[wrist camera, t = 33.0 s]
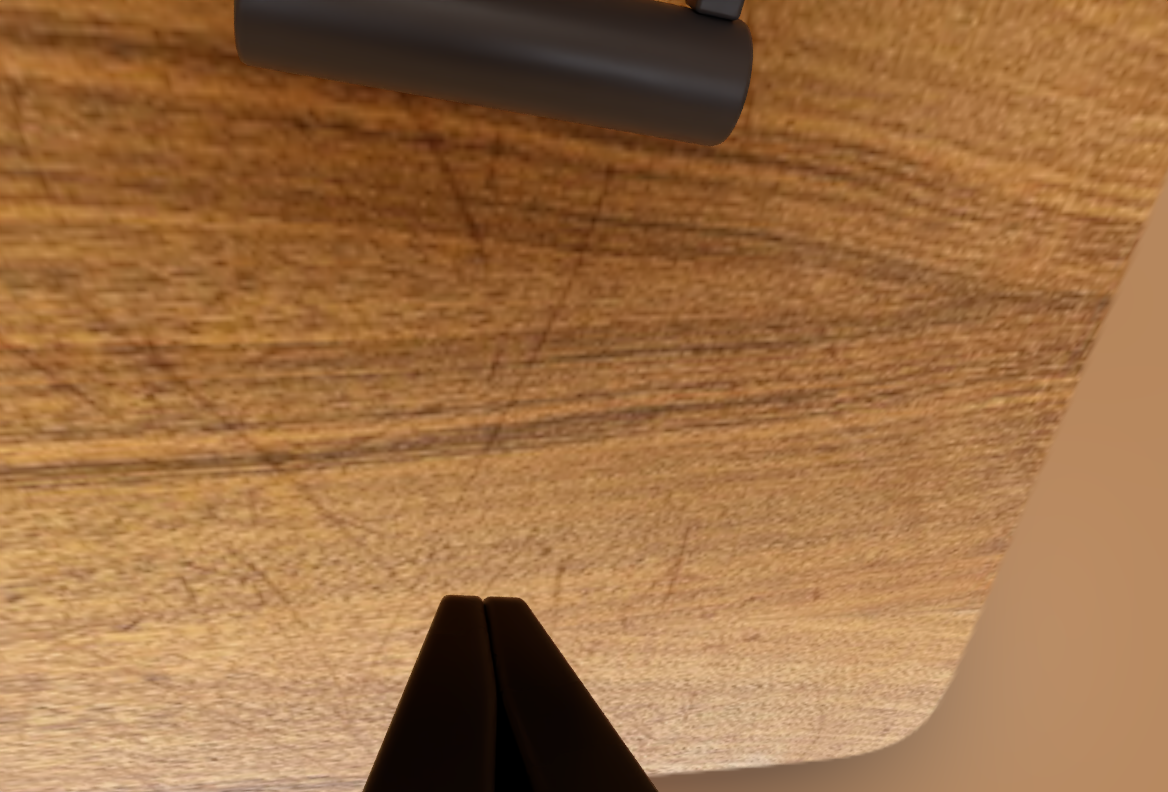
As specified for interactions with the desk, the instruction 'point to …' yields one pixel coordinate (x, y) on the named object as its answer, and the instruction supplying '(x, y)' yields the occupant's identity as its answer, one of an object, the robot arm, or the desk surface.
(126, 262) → the desk surface
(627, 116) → the drawer
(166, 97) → the desk surface
